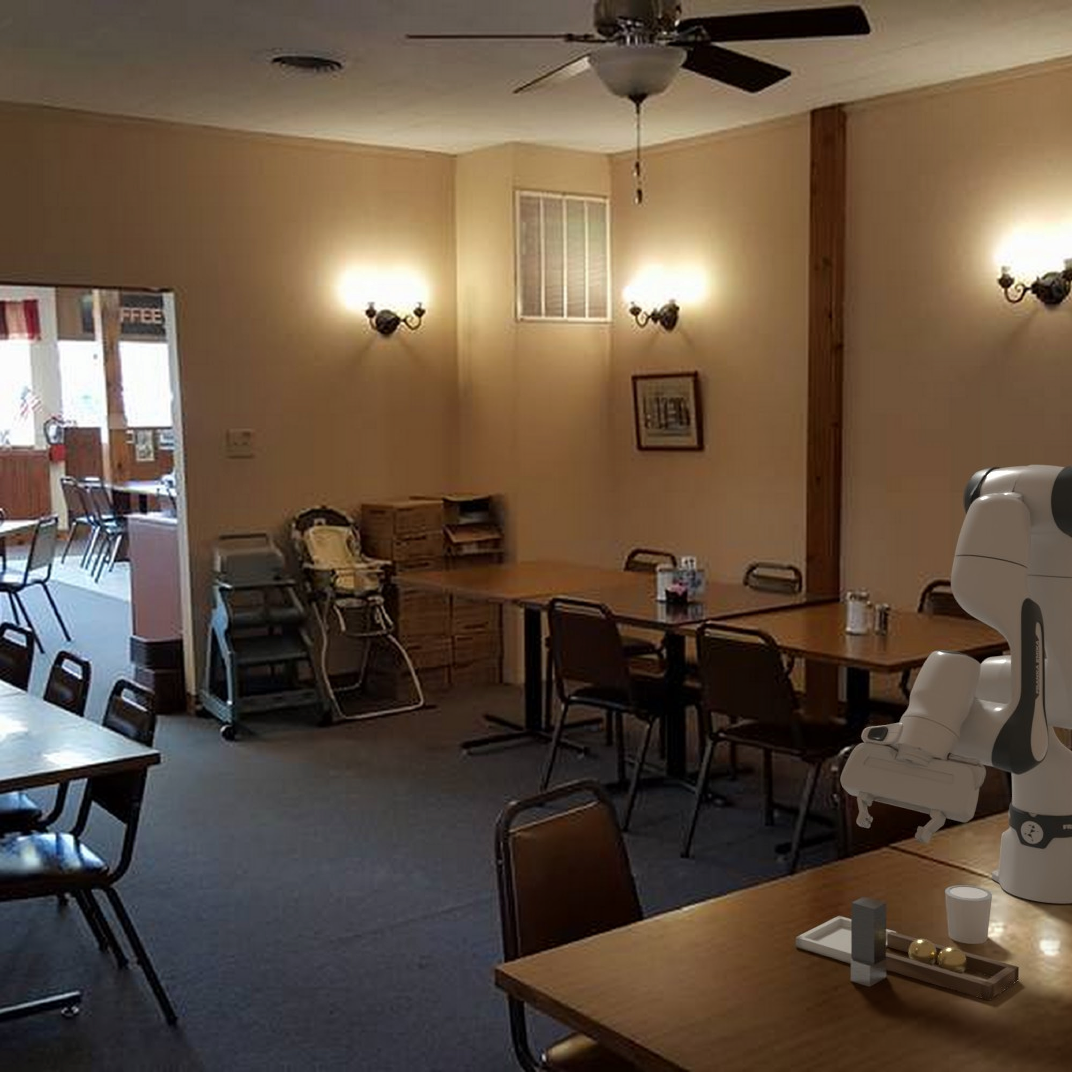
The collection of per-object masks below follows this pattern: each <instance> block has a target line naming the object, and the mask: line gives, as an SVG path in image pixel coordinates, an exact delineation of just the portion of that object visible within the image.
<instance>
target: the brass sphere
mask: <svg viewBox="0 0 1072 1072" xmlns="http://www.w3.org/2000/svg"><path fill="white" fill-rule="evenodd" d="M945 947H946V948H944V949H942V950H941V951H940V953H939V955H938V958H937V961H936V962H937V965H938V966H937V967H938V968H942V969H945V970H948V971H952V972H955V973H959V974H962V975H963V973H965V971H966V966H967V960H966V957H965V955H964V953H963V952H964V951H963V950H961V949H959V948H957V947H955V946H945ZM962 951H963V952H962Z"/></svg>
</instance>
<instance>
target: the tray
mask: <svg viewBox="0 0 1072 1072" xmlns="http://www.w3.org/2000/svg"><path fill="white" fill-rule="evenodd" d="M891 931H892V932H895V933H898V932H897V931H895V930H891V929H887V928H886V948H888V947H887V934H888V933H890V932H891ZM795 948H798V949H801V950H805V951H808V952H811V953H815V954H818V955H821V956H825V957H828V958H831V959H834V960H838V961H840V962H844V963H847V964H850V965H851V960H852V958H851V918H849V917H844V916H842V915H838V916H836V917H833V918H831V919H829V920H827V921H826V922H824V923H822V924H820V925H817V926H816V927H814V928H811V929H809V930H808V931H806V932H804V933H801V934H800V935H798V936H795Z"/></svg>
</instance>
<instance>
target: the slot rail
mask: <svg viewBox="0 0 1072 1072" xmlns="http://www.w3.org/2000/svg"><path fill="white" fill-rule="evenodd" d="M892 931H893V930H892ZM892 931H891V932H890V933H888V934H887V947H886V948H890V949H895V950H897V951H901V952H903V953H907V954H908V950H909V947H910V945H911V943H912V942H913V941H915V940H917V939H918V938H916V937H913V936H909V935H905V934H902V933H898V932H897V933H895V932H896V931H895V932H892ZM932 943H933V944H934V946H935V947H936V950H937V958H938V955H939V953H940V951H941V950H942V949H944V948H946V947H947V946H945V945H942V944H938V943H935V942H932ZM961 951H962V952H963V953H964V955H965V957H966V960H967V966H966V969H965V971H966V970H967V971H971V972H973V973H977V974H980V973H981V975H984V974H985V975H984V976H987V975H989V976H988V977H990V978H988V979H986V980H982V979H979V978H975V977H973V976H970V975H965V974H963V973H962V974H959V973H955V972H952V971H948V970H945V969H942V968H939V966H934V965H932V966H931V965H928V964H924V963H921V962H918V961H914V960H911V959H910V958H907V957H903V956H900V955H897V954H893V953H889V952H887V951H886V971H890V972H893V973H897V974H900V975H902V976H906V977H910V978H913V979H916V980H918V981H919V980H920V981H922V982H926V983H930V984H933V985H936V986H939V987H942V988H945V987H946V989H949V988H950V990H952V989H953V991H955V990H957V991H956V992H959V993H963V994H965V993H966V995H969V994H970V995H969V996H972V995H974V996H973V997H975V996H978V997H982V998H984V999H983V1000H985V999H986V1001H988V1000H990V999H992V998H993V997H994V996H996V995H997V994H999V993H1000V992H1002V991H1003V990H1004V989H1006V988H1007V987H1009V986H1010V985H1012V984H1013V983H1014V982H1016V981H1017V980H1019V974H1020V973H1019V966H1017V965H1013V964H1010V963H1006V962H1002V961H999V960H995V959H992V958H988V957H984V956H980V955H977V954H974V953H970V952H966V951H963V950H961ZM935 962H937V959H936V961H935ZM991 976H992V977H991ZM1016 983H1017V982H1016ZM1013 985H1014V984H1013ZM1013 985H1012V986H1013ZM1010 987H1011V986H1010ZM1010 987H1009V988H1010ZM1007 989H1008V988H1007ZM1007 989H1006V990H1007ZM1003 992H1004V991H1003ZM1003 992H1002V993H1003ZM1000 994H1001V993H1000ZM1000 994H999V995H1000ZM997 996H998V995H997ZM997 996H996V997H997ZM978 997H977V998H978ZM982 998H981V999H982ZM994 998H995V997H994ZM994 998H993V999H994ZM993 999H992V1000H993ZM990 1001H991V1000H990Z"/></svg>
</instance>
